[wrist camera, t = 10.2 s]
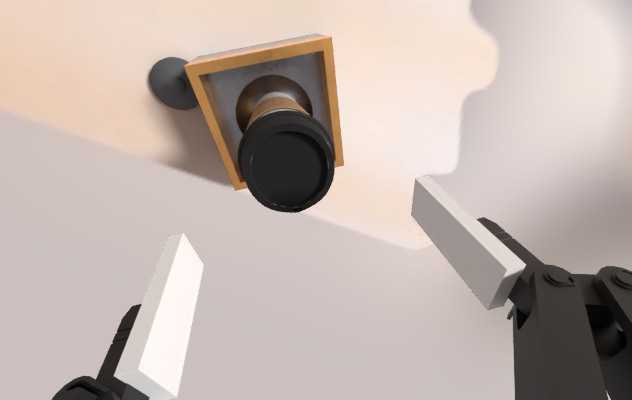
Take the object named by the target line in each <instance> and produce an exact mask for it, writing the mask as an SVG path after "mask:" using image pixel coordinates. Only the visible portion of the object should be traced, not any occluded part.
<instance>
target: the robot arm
mask: <svg viewBox="0 0 632 400" xmlns="http://www.w3.org/2000/svg"><path fill="white" fill-rule="evenodd" d="M411 215H412V216H413V218H414V219H415V220H416V221H417V223H418V224H419V225H420V227H421V228H422V229H423V230H424V232H425V233H426V234H427V235H428V237H429V238H430V239H431V240H432V242H433V243H434V244H435V245H436V247H437V248H438V249H439V250H440V252H441V253H442V254H443V255H444V257H445V258H446V259H447V260H448V262H449V263H450V264H451V265H452V267H453V268H454V269H455V270H456V272H457V273H458V274H459V275H460V276H461V278H462V279H463V280H464V282H465V283H466V284H467V285H468V287H469V288H470V289H471V290H472V292H473V293H474V294H475V296H477V298H478V299H479V300H480V302H481V303H482V304H483V306H484V307H485V308H486V309H487V310H490V309H494V308H497V307H501V306H504V304H505V302H506V301H507V299H508V298H509V299H510V300H511V301H512V302H513V303H514V305H513V307H512V309H511V310H510V312H509V314H508V317H507V319H509V320H510V319H511V317H512V316H513V343H514V376H515V400H608V396H607V392H608V395H609V396H610V399H611V400H632V272H631V271H629V270H626V269H624V268H619V267H615V266H607V267H604V268H601V269H600V270H599V272H598V273H597V274H596V275H588V274H571V273H569V272H568V271H566V270H564V269H562V268H560V267H557V266H553V265H545V264H544V263H542V262H541V261H540V260H538V259H537V258H536V257H535V256H534V255H532V254H531V253H530V252H529V251H528V250H527V249H526V248H524V247H523V246H522V245H521V244H520V243H518V242H517V241H516V240H515V239H513V238H512V237H511V236H510V235H509V234H508V233H505V231H504V230H503V229H502V228H501V227H500V226H498V225H497V224H496V223H494V222H492V221H490V220H488V219H486V218H484V217H483V218H479V219H475V218H474V217H473V216H472V215H471V214H470V213H469V212H468V211H467V210H465V209H464V208H463V207H462V206H461V205H460V204H459V203H458V202H457V201H455V200H454V199H453V198H452V197H451V196H450V195H449V194H448V193H447V192H446V191H444V190H443V189H442V188H441V187H440V186H439V185H438V184H437V183H436V182H434V181H433V180H432V179H431V178H430V177H429V176H428V175H427V176H423V177H419V178H415V185H414V194H413V203H412V212H411ZM203 267H204V265H203V264H202V262H201V260H200V259H199V258H198V256H197V254H196V252H195V251H194V249H193V248H192V246H191V244H190V243H189V241H188V240H187V238H186V236H185V235H184V233H179V234H174V235H170V236H168V238H167V241H166V243H165V246H164V248H163V251H162V254H161V256H160V259H159V261H158V264H157V266H156V269H155V271H154V274H153V277H152V279H151V282H150V284H149V287H148V290H147V292H146V294H145V297H144V300H143V302H142V304H139V305H135V306H132V307H131V308H130V310H129V311H128V312H127V313H126V315H125V316H124V317H123V319H122V321H121V323H120V325H119V328H118V330H117V333H116V335H115V337H114V339H113V344H111V346H110V348H109V351H108V353H107V355H106V358H105V360H104V362H103V365H102V367H101V369H100V371H99V374H98V376H97V378H96V380H95V379H94V378H92V377H90V376H82V377H79V378H76V379H74V380H72V381H71V382H69V383H68V384H66V385H65V386H64V387H63V388H62V389H61V390H60V391H59V392H57V393H56V395H55V396H54V397H53V399H52V400H149V398H150V399H152V400H169V399H172V398H176V397H177V395H178V390H179V385H180V380H181V375H182V370H183V365H184V360H185V355H186V350H187V345H188V341H189V336H190V331H191V326H192V321H193V316H194V311H195V306H196V301H197V296H198V291H199V286H200V281H201V276H202V271H203ZM606 391H607V392H606Z"/></svg>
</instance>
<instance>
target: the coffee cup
mask: <svg viewBox="0 0 632 400" xmlns="http://www.w3.org/2000/svg"><path fill="white" fill-rule="evenodd" d="M237 159H238V165H239V169H240V172H241V175H242V177H243V179H244V181H245V182H246V184H247V187H248V189H249V190H250V192H251V193H252V195H253V196H254V197H255V198H256V199H257V201H258V202H260V203H261V204H262V205H264V206H265V207H267V208H270V209H272V210H275V211H280V212H290V213H291V212H293V213H296V212H301V211H303V210H305V209H307V208H309V207H311V206H313V205H314V204H316V203H317V202H319V201H320V200H321V199H322V198H323V197H324V196H325V195H326V193H327V192H328V190H329V188H330V186H331V184H332V181H333V176H334V162H335V152H334V146H333V142H332V140H331V137H330V135H329V133H328V132H327V130H326V129H325V127H324V126H323V125H322V124H321V123H320V122H319V121H318V120H316V119H315V118H313V117H311V116H310V115H309V114H308V113H307V112H306V111H305V110H304V109H303V108H302V107H301V106H300V105H299V104H298V103H297V102H296V101H295V100H294V99H293V98H292V97H290V96H289V95H287V94H284V93H281V92H272V93H268V94H266V95H264V96H263V97H261V98H260V99H259V101H258V102H257V103H256V105H255V108H254V111H253V114H252V116H251V119H250V121H249V124H248V126H247V129H246V131H245V132H244V134H243V136H242V138H241V140H240V143H239V147H238V158H237Z"/></svg>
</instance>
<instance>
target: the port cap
mask: <svg viewBox="0 0 632 400" xmlns="http://www.w3.org/2000/svg"><path fill="white" fill-rule="evenodd" d="M188 63H189V62H187V61H185V60H183V59H180V58H176V57H168V58H164V59H162V60H160V61H158V62H157V63H156V64H155V65H154V66H153V68H152V70H151V73H150V83H151V87H152V89H153V91H154V93H155V94H156V96H157V97H158V98H159V99H160V100H161V101H162V102H163V103H165V104H166V105H168V106H170V107H172V108H175V109H179V110H187V109H191V108H193V107H195V106H196V105H197V104H198V103H199V102H198V99H197V97H196V95H195V92H194V90H193V87H192V85H191V82H190V80H189V78H188V75H187V73H186V70H185V68H184V66H185V65H186V64H188Z"/></svg>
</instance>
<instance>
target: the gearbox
mask: <svg viewBox="0 0 632 400" xmlns="http://www.w3.org/2000/svg"><path fill="white" fill-rule="evenodd" d="M184 68H185V70H186V73H187V75H188V78H189V80H190V82H191V85H192V87H193V90H194V92H195V95H196V97H197V99H198V102H199V104H200V107H201V109H202V112H203V114H204V116H205V119H206V121H207V124H208V126H209V128H210V131H211V133H212V136H213V138H214V141H215V143H216V145H217V148H218V150H219V153H220V155H221V158H222V160H223V162H224V165H225V167H226V170H227V172H228V174H229V177H230V179H231V182H232V184H233V187H234V189H235V191H236V190H240V189H245V188H248V187H247V184H246V182H245V181H244V179H243V177H242V175H241V172H240V169H239V165H238V159H237V158H238V147H239V143H240V140H241V138H242V136H243V134H244V132H245V131H246V129H247V126H248V124H249V121H250V119H251V116H252V114H253V111H254V108H255V105H256V103H257V102H258V101H259V99H260V98H261V97H263V96H264V95H266V94H268V93H272V92H281V93H284V94H287V95H289V96H290V97H292V98H293V99H294V100H295V101H296V102H297V103H298V104H299V105H300V106H301V107H302V108H303V109H304V110H305V111H306V112H307V113H308V114H309V115H310V116H311V117H313V118H315V119H316V120H318V121H319V122H320V123H321V124H322V125H323V126H324V127H325V129H326V130H327V132H328V133H329V135H330V137H331V140H332V142H333V146H334V152H335V162H334V168H335V167H339V166H343V165H344V161H343V150H342V140H341V129H340V119H339V108H338V98H337V87H336V77H335V66H334V56H333V45H332V37H329V36H324V35H320V34H312V35H307V36H302V37H297V38H292V39H287V40H282V41H276V42H271V43H266V44H261V45H256V46H251V47H245V48H240V49H235V50H230V51H225V52H220V53H215V54H209V55H204V56H199V57H197V58H195V59H194V60H192V61H191V62H189V63H188V64H186V65H185V66H184Z"/></svg>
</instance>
